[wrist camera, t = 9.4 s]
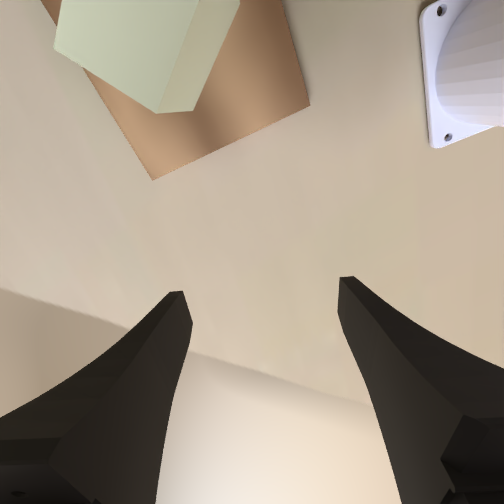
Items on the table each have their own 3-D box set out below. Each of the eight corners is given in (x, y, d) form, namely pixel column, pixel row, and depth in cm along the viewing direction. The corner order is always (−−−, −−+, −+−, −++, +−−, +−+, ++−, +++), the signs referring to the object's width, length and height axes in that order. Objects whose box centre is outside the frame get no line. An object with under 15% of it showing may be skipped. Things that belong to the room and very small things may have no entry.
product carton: (240, 3, 14) (227, -76, 8) (193, 110, 16) (156, 113, 10) (168, -56, 13) (89, -201, 7) (129, 69, 15) (47, 44, 9)
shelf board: (224, -190, 11) (217, -260, 9) (308, 105, 17) (315, 105, 15) (26, -36, 14) (-17, -62, 12) (156, 177, 19) (143, 186, 17)
